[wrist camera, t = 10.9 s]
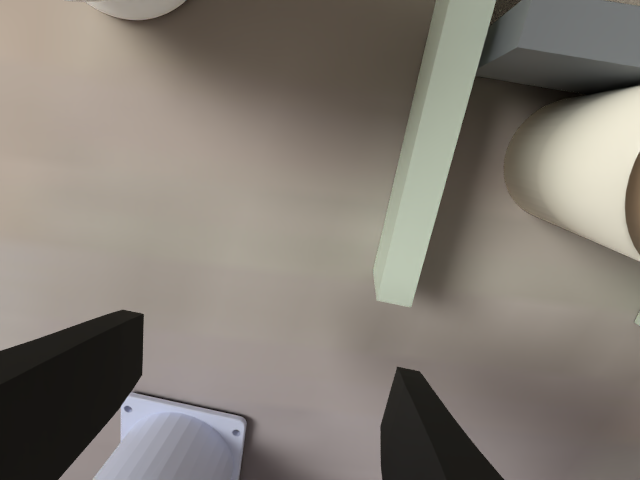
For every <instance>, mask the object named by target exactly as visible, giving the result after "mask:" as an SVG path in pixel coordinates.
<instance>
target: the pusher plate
mask: <svg viewBox="0 0 640 480" xmlns="http://www.w3.org/2000/svg"><path fill="white" fill-rule="evenodd" d="M475 76H479V77H485V78H491V79H497V80H503V81H508V82H514V83H520V84H526V85H532V86H538V87H544V88H550V89H556V90H562V91H567V92H573V93H579V94H585V95H589V94H594V93H600V92H605V91H611V90H616V89H622V88H627V87H633V86H638V85H640V6H636V5H630V4H623V3H617V2H611V1H604V0H521V1H520V2H519V3H518V4H516V5H515V6H514V7H513V8H512V9H510V10H509V11H508V12H507V13H505V14H504V15H503V16H502V17H500V18H499V19H498V20H497V21H496V22H494V23H493V24H492V25H491V26H489V28H488V32H487V35H486V39H485V42H484V46H483V50H482V53H481V57H480V60H479V64H478V68H477V71H476V75H475Z"/></svg>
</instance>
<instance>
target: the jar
mask: <svg viewBox="0 0 640 480" xmlns="http://www.w3.org/2000/svg"><path fill="white" fill-rule="evenodd" d="M66 1H76V2H86V3H87V4H89V5H90V6H92V7H93V8H95V9H97V10H99V11H101V12H103V13H105V14H108V15H110V16H113V17H117V18H121V19H127V20H146V19H152V18H156V17H159V16H162V15H164V14H167V13H169V12H171V11H172V10H174V9H176V8H177V7H179V6H180V5H181V4H183V3H184V2H185V1H186V0H66Z"/></svg>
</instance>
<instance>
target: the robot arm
mask: <svg viewBox="0 0 640 480" xmlns="http://www.w3.org/2000/svg"><path fill="white" fill-rule="evenodd" d="M143 321H144V314H141V313H136V312H131V311H126V310H120V311H117V312H113V313H110V314H107V315H104V316H101V317H98V318H95V319H92V320H89V321H86V322H84V323H81V324H78V325H75V326H72V327H70V328H67V329H64V330H61V331H58V332H56V333H53V334H50V335H47V336H44V337H41V338H39V339H36V340H33V341H30V342H27V343H23V344H20V345H17V346H14V347H11V348H8V349H5V350H2V351H0V480H58V479H59V478H60V477H61V476H62V475H63V473H64V472H65V471H66V470H67V469H68V468H69V467H70V465H71V464H72V463H73V462H74V461H75V460H76V458H77V457H78V456H79V455H80V454H81V453H82V452H83V450H84V449H85V448H86V447H87V446H88V445H89V443H90V442H91V441H92V440H93V439H94V438H95V437H96V435H97V434H98V433H99V432H100V431H101V430H102V428H103V427H104V426H105V425H106V424H107V423H108V421H109V420H110V419H111V418H112V417H113V416H114V414H115V413H116V412H117V411H118V410H119V408H120V407H121V443H120V444H119V445H118V447H117V448H116V449H115V451H114V452H113V453H112V455H111V456H110V457H109V458H108V460H107V461H106V462H105V464H104V465H103V466H102V468H101V469H100V470H99V472H98V473H97V474H96V475H95V477H94V478H93V479H92V480H239V477H240V469H241V462H242V455H243V447H244V440H245V433H246V426H247V422H246V420H245V419H244V418H243V417H241V416H238V415H233V414H228V413H224V412H219V411H215V410H210V409H205V408H201V407H196V406H192V405H187V404H183V403H178V402H173V401H169V400H164V399H160V398H155V397H151V396H146V395H141V394H137V393H132V392H131V391H132V390H133V388H134V386H135V385H136V383H137V382H138V380H139V379H140V377H141V376H142V362H143ZM129 406H130V407H129ZM236 430H239V431H236ZM381 471H382V480H504V479H503V478H502V477H501V475H500V474H499V473H498V472H497V471H496V470H495V468H494V467H493V466H492V465H491V464H490V463H489V461H488V460H487V459H486V458H485V457H484V456H483V454H482V453H481V452H480V451H479V450H478V448H477V447H476V446H475V445H474V443H473V442H472V441H471V440H470V438H469V437H468V436H467V435H466V433H465V432H464V431H463V430H462V428H461V427H460V426H459V424H458V423H457V422H456V420H455V419H454V418H453V416H452V415H451V414H450V412H449V411H448V410H447V408H446V407H445V406H444V404H443V403H442V401H441V400H440V399H439V397H438V396H437V395H436V393H435V392H434V390H433V389H432V388H431V386H430V385H429V383H428V382H427V381H426V379H425V378H424V377H423V375H422V374H421V373H420V371H415V370H410V369H406V368H401V367H397V369H396V373H395V377H394V380H393V384H392V387H391V391H390V394H389V398H388V402H387V405H386V409H385V412H384V416H383V419H382V423H381Z"/></svg>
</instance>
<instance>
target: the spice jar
mask: <svg viewBox="0 0 640 480" xmlns="http://www.w3.org/2000/svg"><path fill="white" fill-rule="evenodd" d="M504 179H505V183H506V187H507V189H508V192H509V194H510V196H511V197H512V198H513V200H514V201H515V202H516V203H517V205H518V206H519V207H521V208H522V209H523V210H524V211H526V212H528V213H530V214H531V215H534V216H536V217H538V218H541V219H543V220H545V221H547V222H550V223H552V224H554V225H557V226H559V227H561V228H564V229H566V230H568V231H570V232H573V233H575V234H577V235H580V236H582V237H584V238H587V239H589V240H591V241H593V242H596V243H598V244H600V245H603V246H605V247H607V248H610V249H612V250H614V251H616V252H619V253H621V254H623V255H626V256H628V257H630V258H633V259H635V260H637V261H639V262H640V85H638V86H633V87H627V88H622V89H616V90H611V91H605V92H600V93H594V94H589V95H583V96H578V97H572V98H567V99H562V100H559V101H556V102H553V103H551V104H548V105H546V106H544V107H543V108H541V109H539V110H538V111H536V112H535V113H534V114H532V115H531V116H530V117H529V118H528V119H527V120H525V121H524V123H523V124H522V125H521V126H520V127H519V128H518V130H517V131H516V133H515V134H514V136H513V137H512V139H511V141H510V143H509V146H508V148H507V151H506V155H505V159H504Z"/></svg>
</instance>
